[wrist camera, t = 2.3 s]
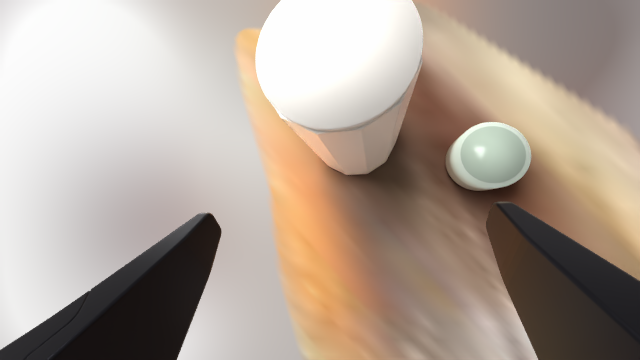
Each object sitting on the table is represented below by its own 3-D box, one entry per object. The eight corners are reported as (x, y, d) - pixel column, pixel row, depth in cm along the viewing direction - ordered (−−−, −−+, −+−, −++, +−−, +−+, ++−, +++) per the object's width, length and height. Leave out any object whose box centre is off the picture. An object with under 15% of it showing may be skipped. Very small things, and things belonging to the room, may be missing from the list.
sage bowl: (510, 189, 18) (536, 185, 15) (446, 192, 19) (459, 189, 16) (502, 132, 19) (526, 118, 16) (440, 138, 20) (452, 125, 17)
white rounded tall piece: (397, 171, 20) (431, 118, 9) (318, 176, 22) (255, 136, 10) (391, 95, 21) (415, -48, 9) (316, 104, 22) (255, -10, 11)
